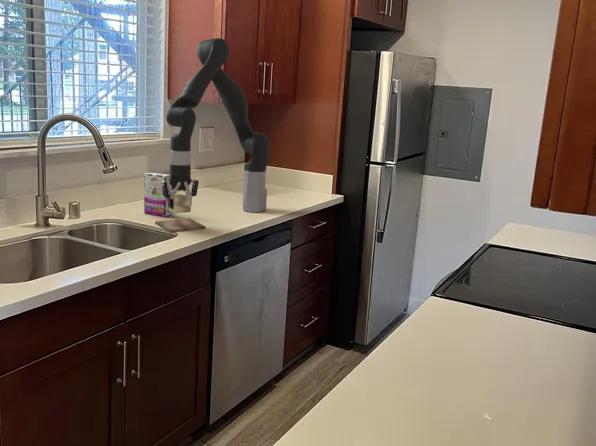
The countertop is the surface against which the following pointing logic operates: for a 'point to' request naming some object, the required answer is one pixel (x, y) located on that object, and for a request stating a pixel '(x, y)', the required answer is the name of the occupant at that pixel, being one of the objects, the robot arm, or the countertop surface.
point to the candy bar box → (156, 195)
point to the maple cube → (181, 203)
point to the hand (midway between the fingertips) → (179, 207)
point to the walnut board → (179, 225)
